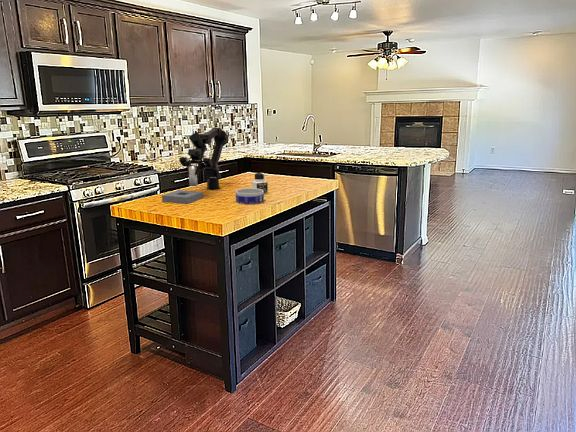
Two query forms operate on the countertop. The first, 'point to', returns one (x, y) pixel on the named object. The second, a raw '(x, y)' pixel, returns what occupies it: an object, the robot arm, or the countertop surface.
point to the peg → (192, 176)
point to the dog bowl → (249, 195)
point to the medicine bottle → (260, 182)
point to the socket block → (182, 196)
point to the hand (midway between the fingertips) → (191, 174)
